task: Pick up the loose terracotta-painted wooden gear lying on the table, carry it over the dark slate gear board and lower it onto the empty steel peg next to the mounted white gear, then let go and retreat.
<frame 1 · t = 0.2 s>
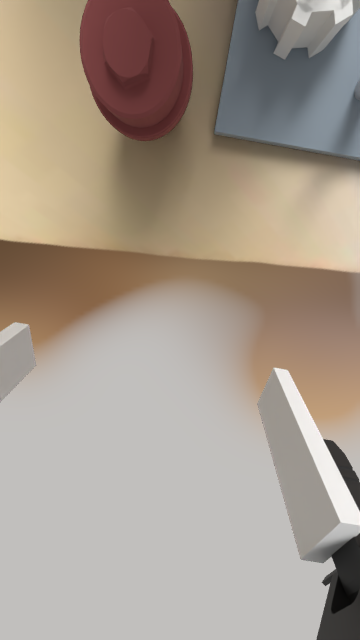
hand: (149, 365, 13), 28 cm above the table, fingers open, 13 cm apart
mechanical component: (154, 103, 29), on the table
gear board: (330, 50, 26), on the table
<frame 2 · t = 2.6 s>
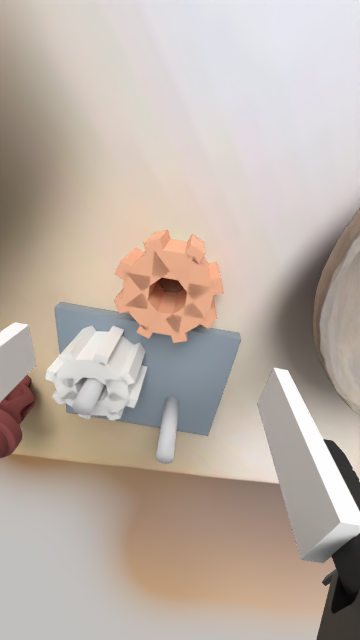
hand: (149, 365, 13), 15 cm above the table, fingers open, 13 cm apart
white gear: (101, 372, 27), point 4 cm above the table, hinge at 10.0°
mechanical component: (19, 385, 36), on the table
gear board: (144, 373, 33), on the table
terracotta gear: (173, 277, 26), on the table
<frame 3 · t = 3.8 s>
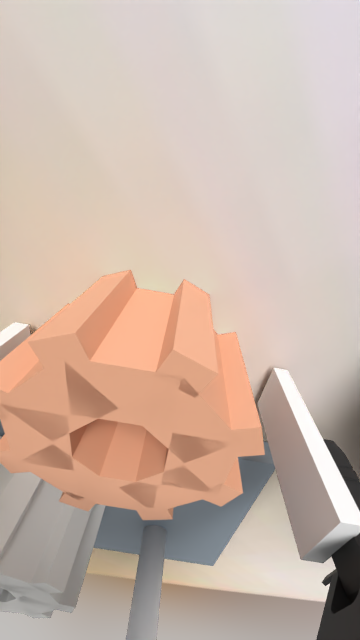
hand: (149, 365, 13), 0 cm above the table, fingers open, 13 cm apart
white gear: (16, 525, 15), point 4 cm above the table, hinge at 10.0°
gear board: (109, 485, 20), on the table
terracotta gear: (148, 357, 13), on the table
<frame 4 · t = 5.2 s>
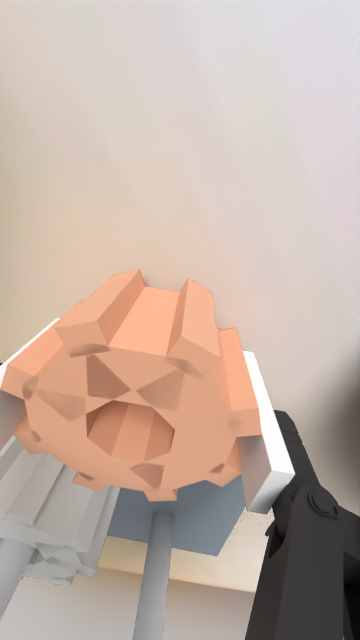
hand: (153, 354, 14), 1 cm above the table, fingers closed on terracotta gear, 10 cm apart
white gear: (43, 499, 16), point 4 cm above the table, hinge at 10.0°
gear board: (122, 472, 22), on the table
terracotta gear: (154, 351, 14), point 1 cm above the table, touching gripper
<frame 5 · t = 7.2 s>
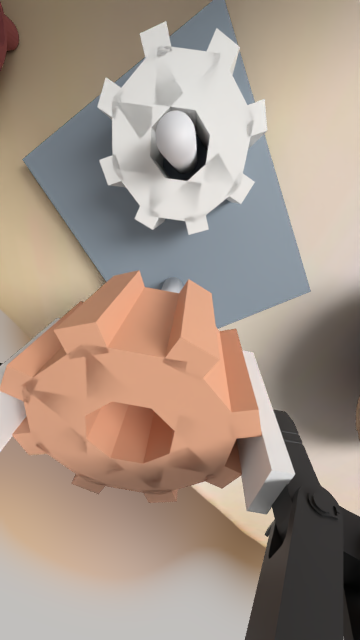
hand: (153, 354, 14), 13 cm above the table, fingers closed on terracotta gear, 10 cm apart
white gear: (182, 153, 16), point 4 cm above the table, hinge at 10.0°
gear board: (179, 228, 22), on the table
terracotta gear: (153, 352, 14), point 13 cm above the table, touching gripper
when the fingers open (4 cm above the table, at t = 9.3 s): terracotta gear drops 2 cm, resting on gear board.
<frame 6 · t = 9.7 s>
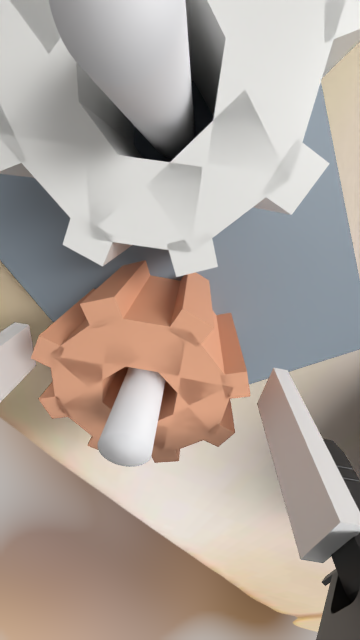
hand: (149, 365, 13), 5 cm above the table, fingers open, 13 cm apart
white gear: (163, 110, 8), point 4 cm above the table, hinge at 10.0°
gear board: (167, 248, 14), on the table
terracotta gear: (157, 334, 15), point 1 cm above the table, touching gear board
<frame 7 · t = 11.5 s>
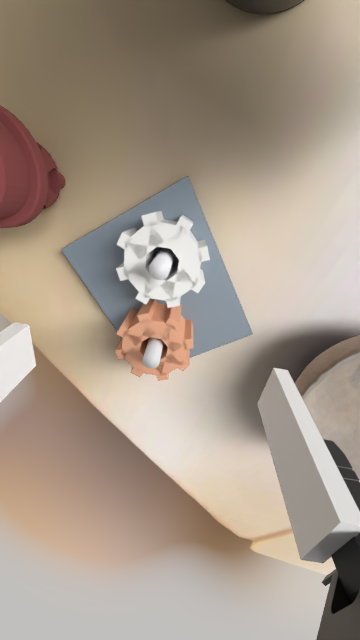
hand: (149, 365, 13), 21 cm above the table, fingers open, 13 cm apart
white gear: (164, 259, 27), point 4 cm above the table, hinge at 10.0°
bowl: (348, 373, 38), on the table
mechanical component: (38, 177, 28), on the table
gear board: (164, 290, 33), on the table
terracotta gear: (159, 328, 34), point 1 cm above the table, touching gear board
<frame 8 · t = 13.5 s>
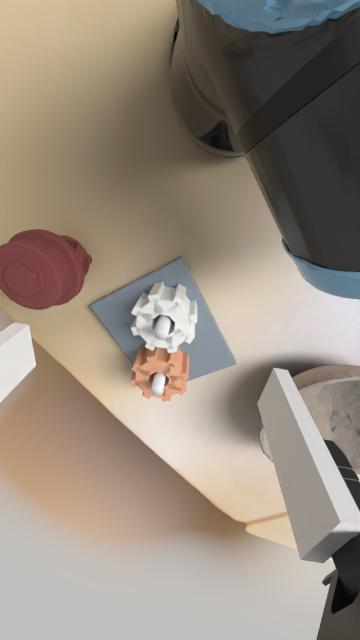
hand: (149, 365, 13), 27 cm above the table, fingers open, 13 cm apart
white gear: (165, 316, 37), point 4 cm above the table, hinge at 10.0°
bowl: (315, 391, 47), on the table
mechanical component: (72, 256, 38), on the table
gear board: (166, 331, 43), on the table
terracotta gear: (163, 360, 44), point 1 cm above the table, touching gear board
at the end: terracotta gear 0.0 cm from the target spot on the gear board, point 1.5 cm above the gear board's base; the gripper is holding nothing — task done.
